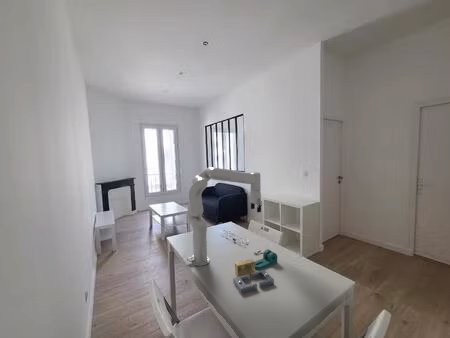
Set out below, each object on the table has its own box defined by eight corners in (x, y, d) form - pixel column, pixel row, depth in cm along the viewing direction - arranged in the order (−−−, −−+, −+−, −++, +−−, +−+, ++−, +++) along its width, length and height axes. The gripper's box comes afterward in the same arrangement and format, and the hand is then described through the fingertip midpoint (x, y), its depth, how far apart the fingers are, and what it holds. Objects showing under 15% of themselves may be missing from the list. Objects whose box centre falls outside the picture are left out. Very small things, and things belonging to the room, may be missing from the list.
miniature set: (217, 233, 192) (227, 232, 199) (243, 249, 165) (253, 247, 172) (218, 227, 192) (228, 225, 199) (244, 241, 164) (254, 239, 172)
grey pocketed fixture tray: (241, 294, 111) (240, 287, 111) (233, 282, 121) (233, 276, 121) (273, 284, 119) (273, 278, 118) (264, 274, 128) (264, 268, 128)
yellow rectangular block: (237, 276, 127) (237, 265, 126) (235, 273, 131) (234, 262, 130) (254, 272, 131) (254, 261, 131) (251, 268, 135) (251, 258, 134)
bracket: (270, 258, 147) (270, 248, 146) (277, 263, 141) (277, 252, 141) (250, 266, 138) (250, 255, 137) (256, 271, 132) (256, 259, 132)
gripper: (246, 187, 164) (246, 208, 165) (256, 191, 148) (257, 214, 149) (254, 186, 166) (254, 207, 168) (265, 190, 150) (266, 212, 152)
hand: (255, 210), depth 159 cm, fingers open, 9 cm apart
